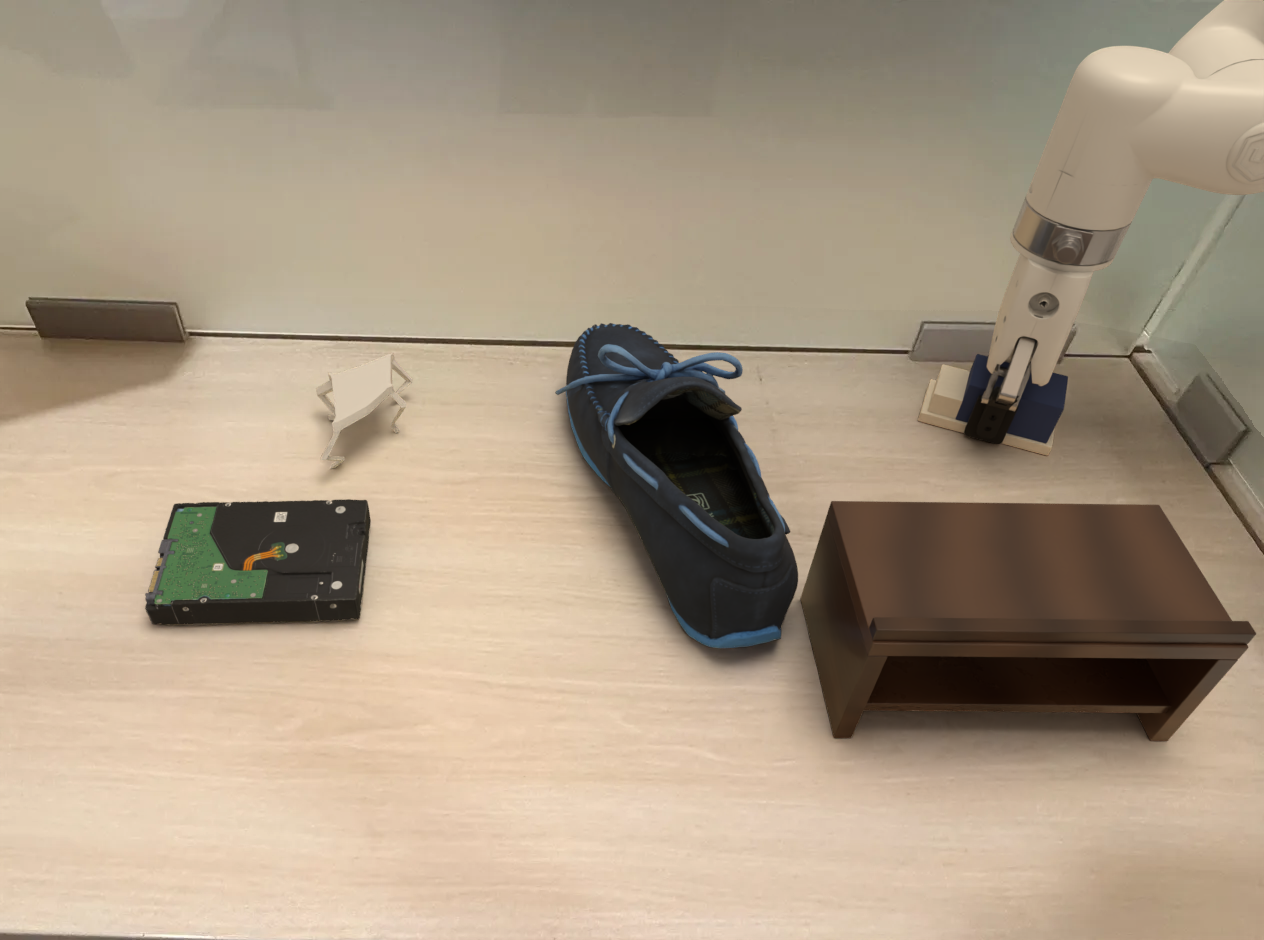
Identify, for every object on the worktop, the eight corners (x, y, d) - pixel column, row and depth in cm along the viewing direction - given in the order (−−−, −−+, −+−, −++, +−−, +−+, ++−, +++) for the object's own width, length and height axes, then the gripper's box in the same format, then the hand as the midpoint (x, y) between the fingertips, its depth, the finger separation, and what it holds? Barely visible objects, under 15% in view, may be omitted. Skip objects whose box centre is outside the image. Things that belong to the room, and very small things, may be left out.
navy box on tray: (1053, 419, 87) (1075, 375, 84) (1047, 456, 84) (1070, 412, 80) (927, 387, 90) (943, 343, 87) (917, 421, 87) (933, 377, 83)
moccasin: (666, 359, 93) (681, 245, 84) (874, 626, 70) (923, 508, 62) (529, 388, 89) (529, 273, 81) (702, 680, 67) (728, 563, 58)
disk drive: (371, 522, 77) (180, 526, 76) (368, 496, 75) (171, 500, 74) (362, 624, 70) (150, 630, 69) (358, 599, 68) (139, 604, 67)
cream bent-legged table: (327, 390, 88) (319, 344, 85) (419, 396, 88) (415, 350, 84) (293, 479, 80) (283, 433, 77) (394, 486, 80) (388, 440, 76)
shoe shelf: (1096, 601, 72) (1166, 493, 64) (1168, 741, 64) (1259, 636, 56) (800, 598, 72) (834, 489, 64) (833, 738, 64) (877, 633, 56)
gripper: (1117, 297, 67) (1021, 489, 80) (1126, 191, 78) (1039, 376, 91) (1004, 272, 69) (927, 463, 82) (1027, 172, 80) (957, 355, 93)
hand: (987, 415), depth 87 cm, fingers closed on navy box on tray, 5 cm apart
